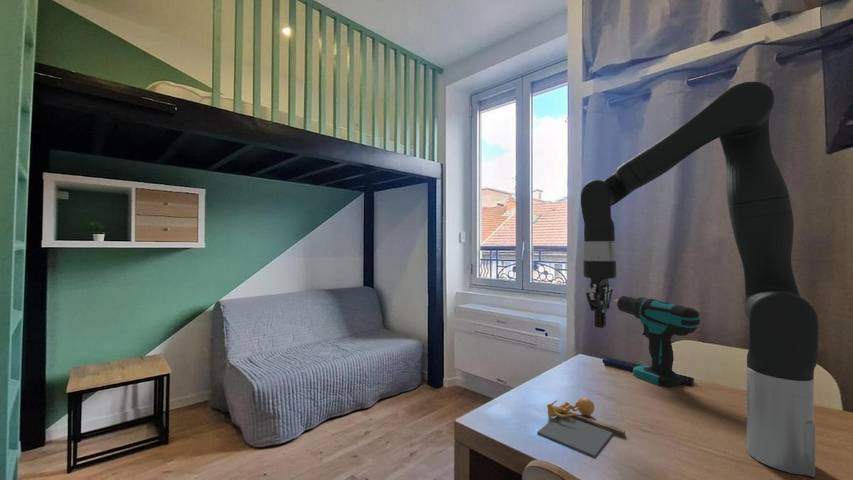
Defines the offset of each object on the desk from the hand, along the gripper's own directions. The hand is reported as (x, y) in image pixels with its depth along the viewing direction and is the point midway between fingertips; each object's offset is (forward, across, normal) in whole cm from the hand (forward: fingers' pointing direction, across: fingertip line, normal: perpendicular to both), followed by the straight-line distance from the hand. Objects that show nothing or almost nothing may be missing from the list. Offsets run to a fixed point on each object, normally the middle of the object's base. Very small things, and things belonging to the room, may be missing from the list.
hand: (600, 326), depth 89 cm
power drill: (+21, +35, -4) cm, 41 cm away
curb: (+21, -9, 0) cm, 23 cm away
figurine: (+20, -4, +1) cm, 21 cm away
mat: (+21, -16, 0) cm, 26 cm away
